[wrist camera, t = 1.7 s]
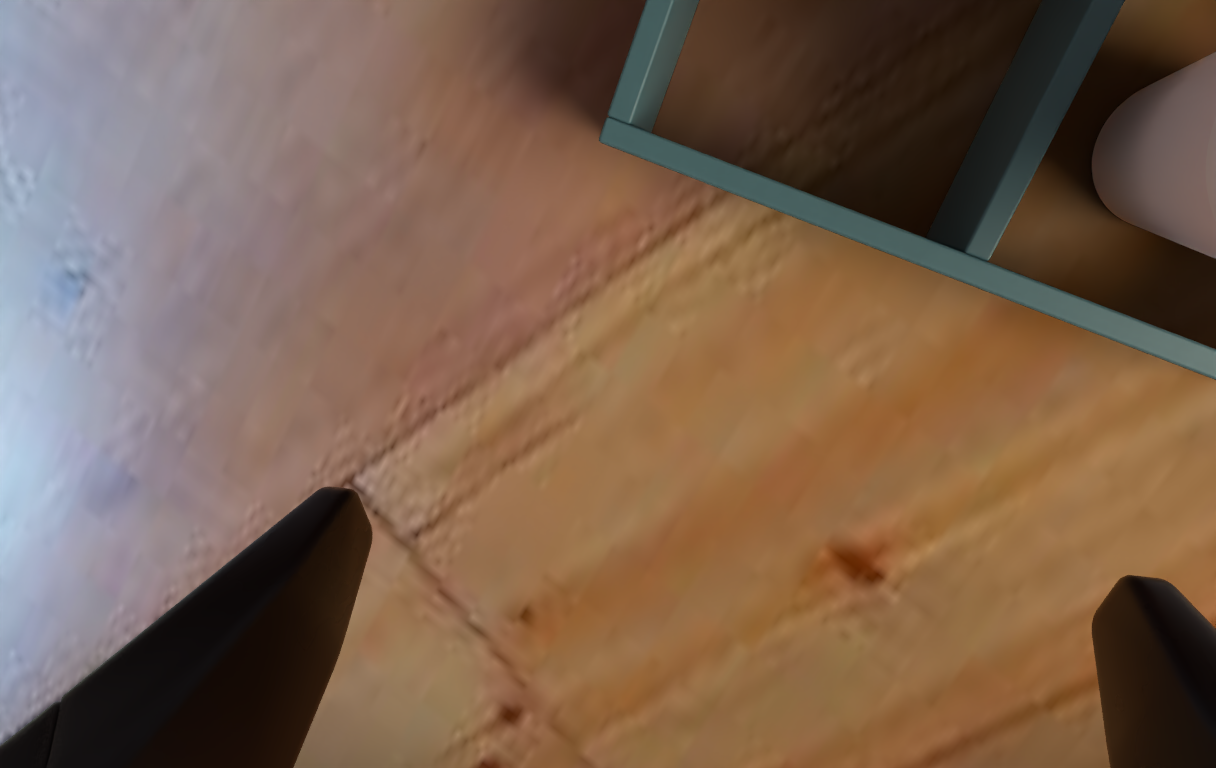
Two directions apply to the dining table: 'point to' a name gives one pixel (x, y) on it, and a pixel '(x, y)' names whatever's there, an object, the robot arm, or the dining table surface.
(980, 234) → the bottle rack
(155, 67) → the dining table surface
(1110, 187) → the smoothie
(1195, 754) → the robot arm
